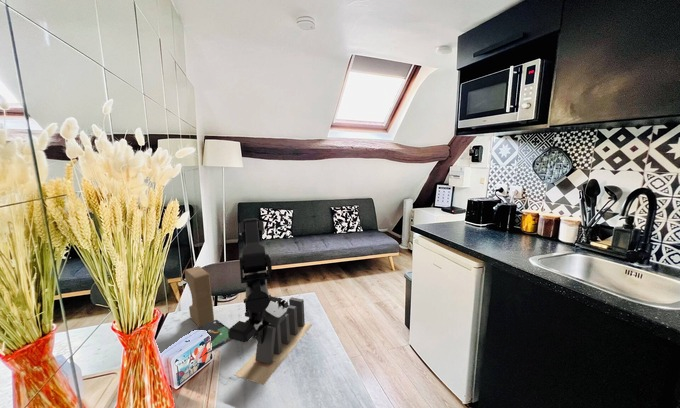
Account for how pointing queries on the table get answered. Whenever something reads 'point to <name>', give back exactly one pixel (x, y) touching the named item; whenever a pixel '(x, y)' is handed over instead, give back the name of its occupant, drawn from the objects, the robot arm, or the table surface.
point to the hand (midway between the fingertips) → (261, 343)
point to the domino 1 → (266, 347)
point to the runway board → (263, 371)
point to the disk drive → (216, 333)
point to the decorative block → (200, 296)
